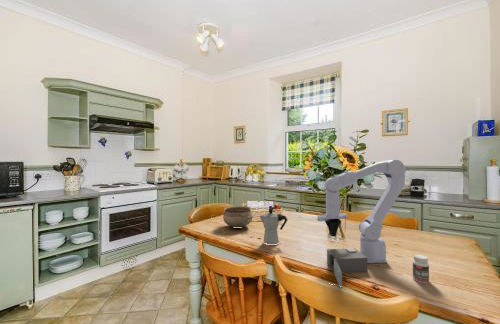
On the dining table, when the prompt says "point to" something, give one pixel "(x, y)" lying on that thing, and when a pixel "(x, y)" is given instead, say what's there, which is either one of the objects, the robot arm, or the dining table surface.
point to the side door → (337, 272)
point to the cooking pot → (237, 216)
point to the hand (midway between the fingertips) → (333, 236)
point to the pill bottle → (420, 269)
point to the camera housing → (347, 260)
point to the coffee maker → (272, 226)
